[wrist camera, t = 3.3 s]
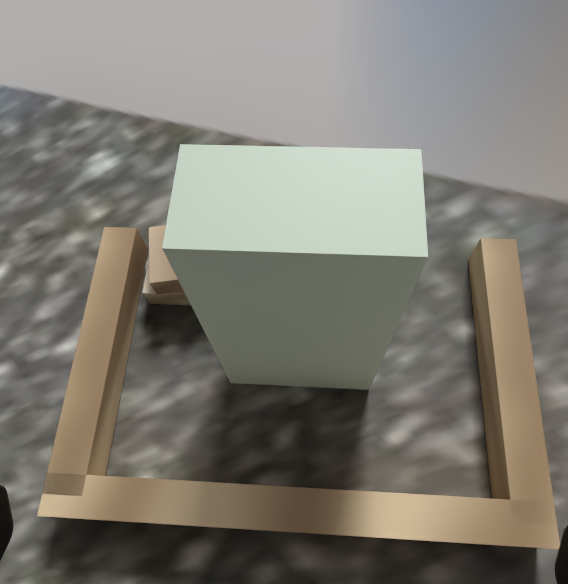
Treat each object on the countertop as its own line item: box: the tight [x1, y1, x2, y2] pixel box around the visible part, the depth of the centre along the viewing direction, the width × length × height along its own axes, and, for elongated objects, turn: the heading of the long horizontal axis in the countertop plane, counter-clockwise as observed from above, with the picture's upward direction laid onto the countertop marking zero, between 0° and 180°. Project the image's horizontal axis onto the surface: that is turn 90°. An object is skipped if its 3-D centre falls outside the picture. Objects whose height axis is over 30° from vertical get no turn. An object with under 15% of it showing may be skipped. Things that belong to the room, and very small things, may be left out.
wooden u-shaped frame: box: [37, 227, 560, 549], centre depth 22 cm, size 18×12×2 cm, turn 87°
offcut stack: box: [143, 225, 191, 305], centre depth 24 cm, size 4×3×2 cm
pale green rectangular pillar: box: [162, 144, 428, 390], centre depth 18 cm, size 6×3×12 cm, turn 87°
